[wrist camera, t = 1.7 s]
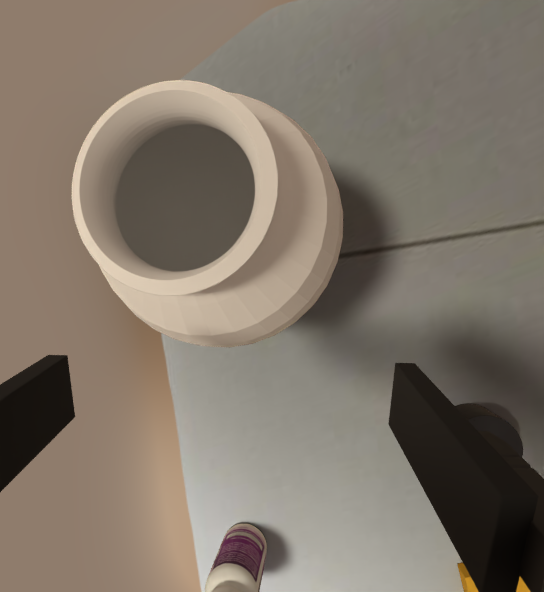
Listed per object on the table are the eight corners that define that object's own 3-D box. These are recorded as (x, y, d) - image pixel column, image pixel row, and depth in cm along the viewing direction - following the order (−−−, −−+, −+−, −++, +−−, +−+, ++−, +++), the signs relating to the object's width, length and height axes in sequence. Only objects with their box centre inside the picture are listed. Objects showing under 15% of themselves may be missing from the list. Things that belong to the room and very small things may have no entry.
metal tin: (507, 457, 37) (530, 476, 33) (446, 466, 38) (461, 486, 34) (493, 398, 37) (513, 409, 33) (432, 409, 38) (445, 421, 34)
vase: (171, 208, 43) (-33, 77, 18) (309, 162, 40) (295, -60, 16) (208, 346, 42) (47, 411, 17) (352, 307, 40) (409, 314, 15)
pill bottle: (217, 527, 41) (187, 595, 32) (259, 516, 40) (241, 582, 31) (231, 572, 41) (204, 654, 31) (273, 562, 40) (259, 643, 31)
